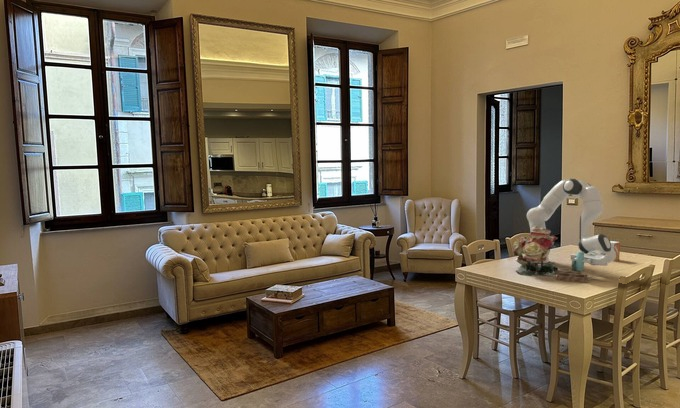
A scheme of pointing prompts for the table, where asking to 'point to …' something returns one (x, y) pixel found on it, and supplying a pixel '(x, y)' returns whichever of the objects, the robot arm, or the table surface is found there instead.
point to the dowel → (580, 261)
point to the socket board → (572, 277)
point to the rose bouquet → (535, 252)
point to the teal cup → (572, 271)
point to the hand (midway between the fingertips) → (579, 260)
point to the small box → (616, 249)
